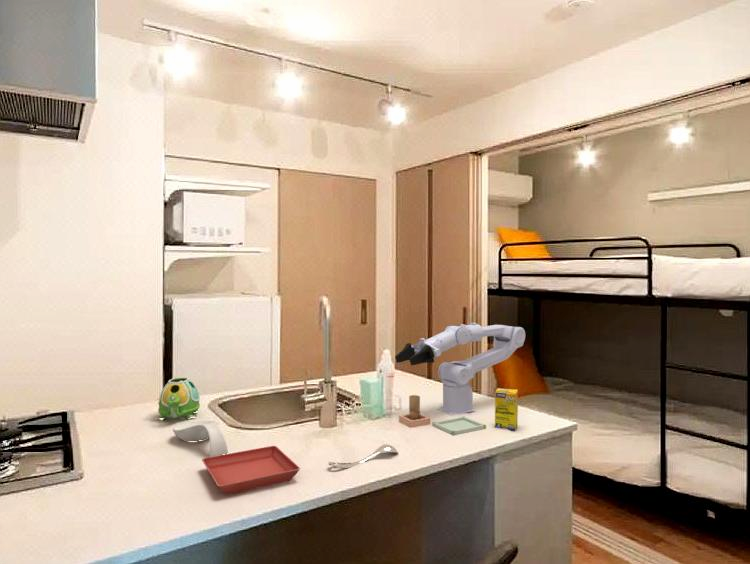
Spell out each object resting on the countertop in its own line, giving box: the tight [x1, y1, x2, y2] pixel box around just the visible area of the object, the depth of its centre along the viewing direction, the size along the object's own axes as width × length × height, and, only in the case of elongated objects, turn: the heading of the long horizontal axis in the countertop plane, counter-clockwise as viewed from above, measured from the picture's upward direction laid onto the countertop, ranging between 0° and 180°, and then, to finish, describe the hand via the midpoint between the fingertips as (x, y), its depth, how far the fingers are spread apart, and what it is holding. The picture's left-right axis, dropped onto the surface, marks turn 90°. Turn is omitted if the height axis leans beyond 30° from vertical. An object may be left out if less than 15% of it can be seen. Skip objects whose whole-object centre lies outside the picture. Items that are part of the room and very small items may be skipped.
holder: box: [398, 413, 431, 428], centre depth 154 cm, size 7×7×2 cm
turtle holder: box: [157, 377, 201, 419], centre depth 160 cm, size 12×18×12 cm
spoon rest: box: [172, 420, 229, 458], centre depth 137 cm, size 24×12×7 cm, turn 39°
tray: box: [432, 416, 487, 436], centre depth 149 cm, size 12×10×1 cm
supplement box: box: [494, 387, 519, 432], centre depth 151 cm, size 6×6×11 cm
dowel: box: [408, 394, 421, 420], centre depth 154 cm, size 3×3×8 cm
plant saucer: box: [201, 445, 301, 495], centre depth 116 cm, size 18×18×3 cm
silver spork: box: [327, 443, 399, 469], centre depth 124 cm, size 20×4×5 cm
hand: (403, 360), depth 156 cm, fingers open, 7 cm apart
